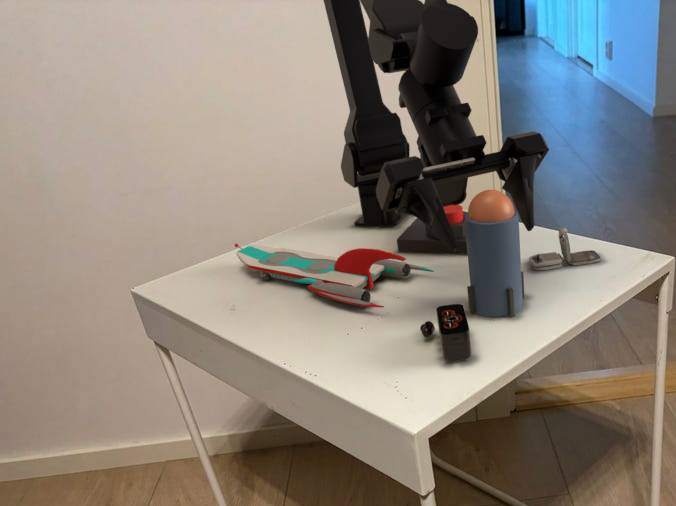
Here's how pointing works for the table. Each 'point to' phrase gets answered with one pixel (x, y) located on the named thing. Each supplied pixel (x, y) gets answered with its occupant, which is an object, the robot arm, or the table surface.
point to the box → (430, 239)
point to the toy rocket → (493, 256)
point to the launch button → (454, 213)
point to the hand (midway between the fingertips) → (493, 239)
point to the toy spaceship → (328, 270)
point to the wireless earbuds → (451, 332)
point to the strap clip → (556, 260)
